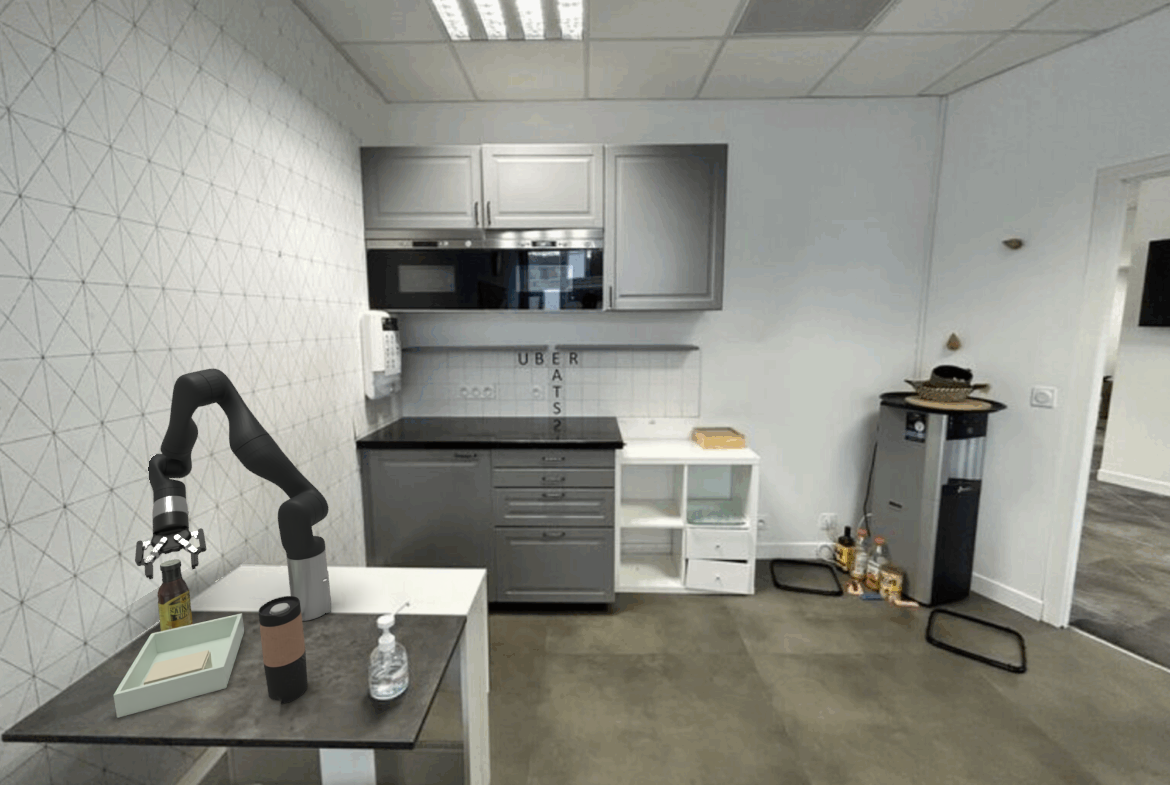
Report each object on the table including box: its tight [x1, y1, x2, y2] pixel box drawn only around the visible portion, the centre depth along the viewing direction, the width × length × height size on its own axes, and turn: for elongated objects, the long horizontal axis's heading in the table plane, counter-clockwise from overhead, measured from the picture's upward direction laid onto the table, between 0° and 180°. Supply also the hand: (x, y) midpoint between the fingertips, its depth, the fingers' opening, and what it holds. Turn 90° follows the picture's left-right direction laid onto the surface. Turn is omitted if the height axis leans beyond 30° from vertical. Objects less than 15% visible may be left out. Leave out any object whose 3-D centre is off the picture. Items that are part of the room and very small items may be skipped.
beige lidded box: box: [143, 650, 212, 685], centre depth 107 cm, size 10×7×5 cm
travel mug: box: [258, 595, 308, 705], centre depth 105 cm, size 8×8×20 cm
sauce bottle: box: [157, 558, 194, 631], centre depth 125 cm, size 6×6×20 cm
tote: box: [113, 612, 245, 719], centre depth 112 cm, size 18×22×6 cm
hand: (172, 572), depth 128 cm, fingers open, 8 cm apart
